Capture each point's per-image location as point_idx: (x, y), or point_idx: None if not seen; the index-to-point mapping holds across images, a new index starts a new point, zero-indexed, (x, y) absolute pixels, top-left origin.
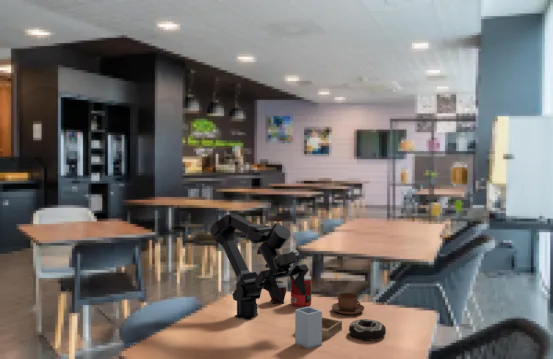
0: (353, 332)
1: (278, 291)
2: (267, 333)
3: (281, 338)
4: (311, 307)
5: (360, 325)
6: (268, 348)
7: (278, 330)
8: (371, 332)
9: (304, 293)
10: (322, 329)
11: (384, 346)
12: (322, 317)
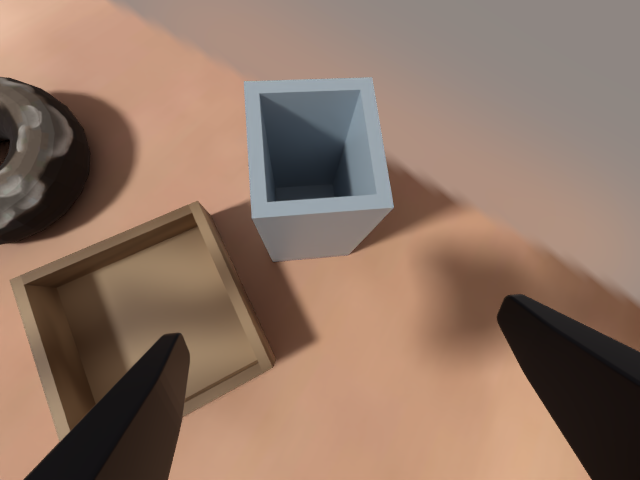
0: (81, 162)
1: (637, 354)
2: (396, 434)
3: (369, 336)
4: (252, 185)
5: None
6: (467, 266)
7: (327, 446)
8: (35, 88)
9: (178, 344)
10: (203, 228)
11: (72, 57)
12: (50, 398)
